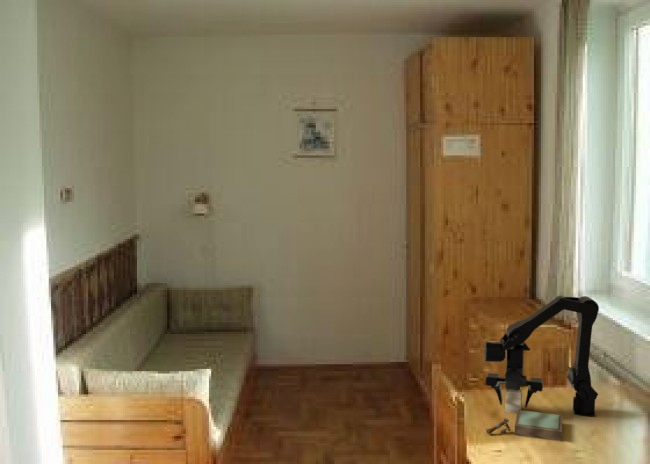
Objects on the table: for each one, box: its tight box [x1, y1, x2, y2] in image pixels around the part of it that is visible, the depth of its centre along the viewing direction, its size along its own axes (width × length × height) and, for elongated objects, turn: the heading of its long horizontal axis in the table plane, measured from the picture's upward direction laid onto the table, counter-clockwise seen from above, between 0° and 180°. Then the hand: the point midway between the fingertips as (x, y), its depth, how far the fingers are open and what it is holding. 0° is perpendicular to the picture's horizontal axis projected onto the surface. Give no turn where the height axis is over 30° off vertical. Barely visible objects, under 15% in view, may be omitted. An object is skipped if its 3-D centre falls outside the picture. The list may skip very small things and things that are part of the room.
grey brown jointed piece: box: [485, 418, 511, 436], centre depth 217 cm, size 2×8×4 cm, turn 105°
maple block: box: [504, 388, 523, 415], centre depth 235 cm, size 5×5×7 cm
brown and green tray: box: [513, 409, 563, 442], centre depth 219 cm, size 14×14×3 cm
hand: (513, 406), depth 235 cm, fingers open, 8 cm apart
